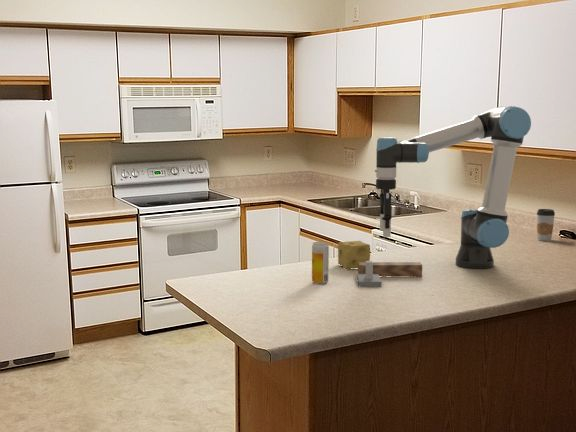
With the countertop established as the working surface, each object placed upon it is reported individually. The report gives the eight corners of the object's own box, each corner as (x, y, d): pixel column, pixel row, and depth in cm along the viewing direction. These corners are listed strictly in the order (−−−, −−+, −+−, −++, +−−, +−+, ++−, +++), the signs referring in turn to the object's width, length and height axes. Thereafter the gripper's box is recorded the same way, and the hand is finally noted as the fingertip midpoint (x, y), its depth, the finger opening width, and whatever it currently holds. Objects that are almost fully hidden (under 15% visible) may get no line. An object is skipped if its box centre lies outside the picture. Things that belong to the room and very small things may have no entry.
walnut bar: (419, 274, 267) (419, 262, 266) (422, 277, 262) (422, 265, 261) (357, 274, 267) (358, 262, 266) (359, 278, 262) (359, 265, 261)
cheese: (345, 270, 273) (346, 245, 272) (336, 264, 283) (337, 241, 282) (370, 268, 276) (370, 244, 274) (360, 263, 286) (360, 239, 285)
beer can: (318, 280, 258) (318, 240, 255) (331, 282, 254) (331, 242, 251) (308, 283, 253) (308, 243, 251) (321, 285, 249) (322, 245, 247)
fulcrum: (378, 279, 259) (378, 258, 257) (381, 287, 247) (381, 265, 246) (357, 279, 259) (357, 258, 258) (359, 287, 247) (359, 265, 246)
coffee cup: (534, 241, 333) (535, 210, 331) (536, 238, 341) (538, 208, 338) (552, 242, 329) (554, 211, 327) (554, 239, 337) (556, 209, 334)
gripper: (373, 175, 272) (372, 228, 275) (378, 181, 248) (377, 239, 251) (392, 175, 272) (391, 228, 275) (399, 181, 247) (398, 239, 251)
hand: (384, 233), depth 263 cm, fingers open, 13 cm apart
